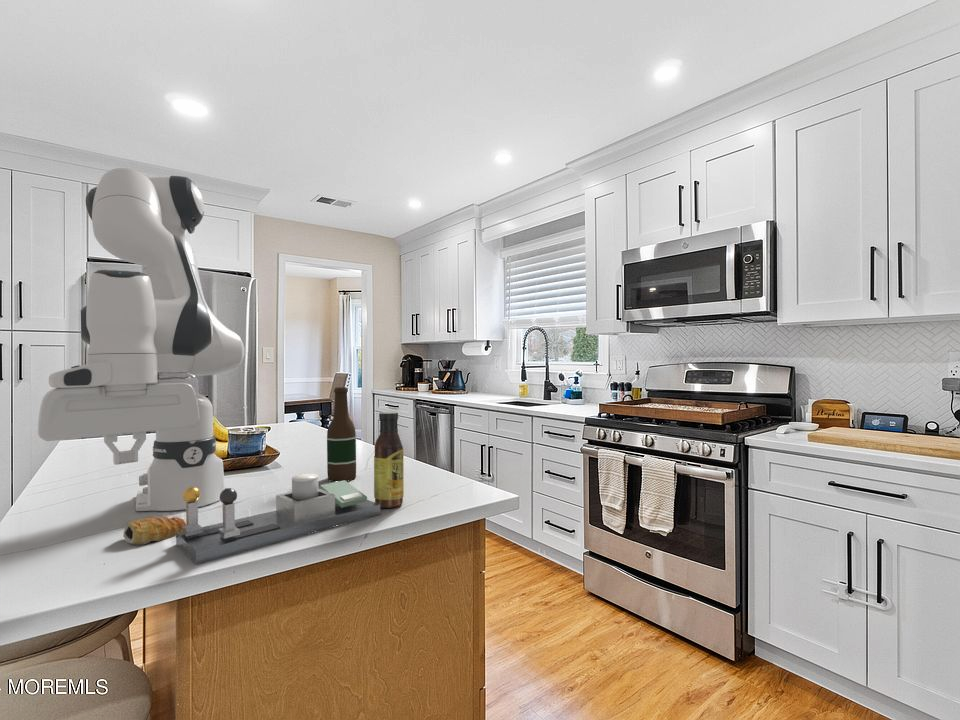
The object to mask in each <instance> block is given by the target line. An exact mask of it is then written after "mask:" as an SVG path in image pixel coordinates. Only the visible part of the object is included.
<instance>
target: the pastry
mask: <svg viewBox="0 0 960 720" xmlns="http://www.w3.org/2000/svg"><path fill="white" fill-rule="evenodd" d="M184 526H186V520H185V519H183V518H180V517H177V516H174V517H170V518H169V517H168V516H149V517H147V518H140V519H137V520H134V521H133V520H132V521H128V522H127V523H126V526H125V528H124V531H123V535H122V536H123V538H124V539H125V540H124V541H125V542H126V543H128V544H131V545H133V546H141V545H142V546H143V545H145V544H149V543H150V542H160V541H163V540H166V539H170V538H173V537H176V533H178V532H182V527H184Z"/></svg>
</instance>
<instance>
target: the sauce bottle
mask: <svg viewBox="0 0 960 720" xmlns="http://www.w3.org/2000/svg"><path fill="white" fill-rule="evenodd" d="M378 415H379V418H378V419H379V433H380V434H379V435H378V437H377V438H376V441H375V443H374V456H373V474H374V475H373V495H374V496H373V497H374V502H375V503H377V504H380V509H390V508H391V509H392V508H397V507H399V506H402V505H403V502H404V495H405V494H404V493H405V492H404V485H405V483H404V482H405V481H404V475H405V474H404V467H405V466H404V463H405V462H404V446H403V443H402V440H401V438H400V434H399V429H398V419H399V412H398V411H384V412H379V413H378Z"/></svg>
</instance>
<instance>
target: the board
mask: <svg viewBox="0 0 960 720" xmlns="http://www.w3.org/2000/svg"><path fill="white" fill-rule="evenodd" d="M318 489H319V497H314V498H310V499H305V500H301V501H296V500H293V499H292V491H290V492H286V493H279V494H276V495H275V507H276V508H275V509H276V510H272V511H268V512H265V513H260V514H259V513H258V514H255V515H250V516H246V517H242V518H237V519H235V527H236V528H238V529H240V535H237V536H232V537H228V538H223V537H222V536H220V535H219V534H218V529H219V528H223V522H220V523H216V524H215V523H214V524H210V525H206V526H201V527H202V528H203V533H200V534H196V535H191V536H186V535H185V534H184V533H183V532H178V533H176V535H175V542H176V543H175V545H176V546H177V547H178V548H179V549H180V550H181V551H182V552H183V553H184V554H185V555H186V556H187V557H188V558H190V559H191V560H192V561H193V562H194V563H195V564H196V565H198V564H202V563H205V562H209V561H214V560H216V559H219V558H225V557H228V556H232V555H235V554H238V553H243V552H246V551H250V550H254V549H257V548H261V547H265V546H268V545H272V544H276V543H278V542H280V543H281V542H282V541H283V542H284V541H287V540H291V539H295V538H298V536H299V537H302V536H306V535H309V534H308V533H310V534H313V533H316V532H315V531H317V532H320V530H321V531H324V529H325V530H327V529H326V528H328V529H331V528H330V527H332V528H334V527H333V526H336V525H339V526H341V525H340V524H343V525H346V524H345V523H347V524H349V522H351V523H354V522H358V521H361V519H362V520H365V519H369V518H372V517H371V516H373V517H376V516H379V514H380V515H381V508H380V504H377V503H375V501H372V500H369V499H367V502H363V503H359V504H355V505H351V506H346V507H342V508H341V507H340V506H339V505H338V504H336V503H335V494H332V493H329V492H327V491H324V490H322V489H320V487H318ZM368 517H369V518H368ZM364 518H365V519H364ZM357 520H358V521H357ZM353 521H354V522H353ZM336 527H337V526H336ZM312 532H313V533H312ZM305 534H306V535H305Z"/></svg>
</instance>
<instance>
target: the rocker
mask: <svg viewBox="0 0 960 720" xmlns="http://www.w3.org/2000/svg"><path fill="white" fill-rule="evenodd" d="M319 489H322V490H324V491H327V492H329V493H332V494H335V503H336V504H338V505H339V506H340V507H341V508H342V507H346V506H351V505H355V504H359V503H363V502H367V500H368V496H367V495H365V494H364V493H362V491H360V490H358V489H357V488H356V487H354V486H353V485H352V484H350V483H349V481H345V480H343V481H338V482H334V481H332V482H328V483H324V484H320V486H319Z"/></svg>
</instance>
